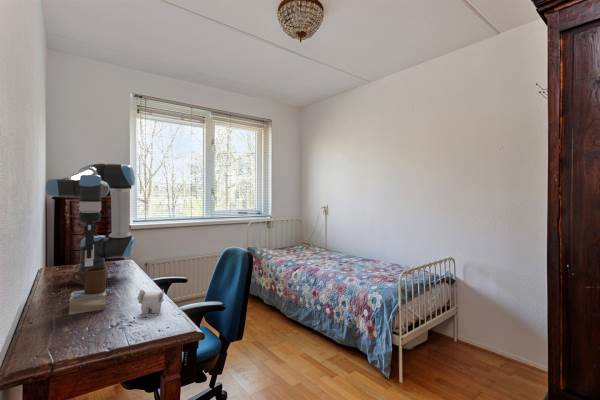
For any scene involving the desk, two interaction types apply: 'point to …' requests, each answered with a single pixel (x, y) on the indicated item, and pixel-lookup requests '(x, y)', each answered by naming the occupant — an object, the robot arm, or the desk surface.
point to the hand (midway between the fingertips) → (89, 262)
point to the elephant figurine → (150, 301)
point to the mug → (92, 280)
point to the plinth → (86, 302)
